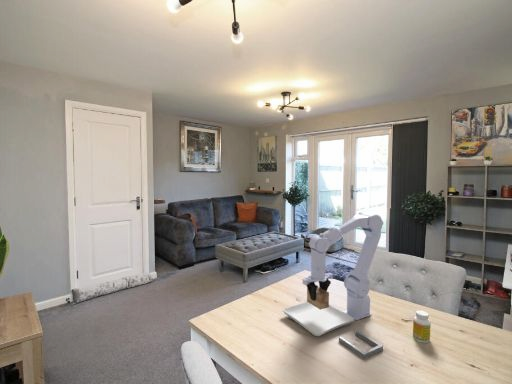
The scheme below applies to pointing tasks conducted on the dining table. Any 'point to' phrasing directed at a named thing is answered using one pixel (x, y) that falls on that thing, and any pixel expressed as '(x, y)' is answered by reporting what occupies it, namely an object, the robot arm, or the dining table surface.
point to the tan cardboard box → (319, 299)
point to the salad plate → (317, 318)
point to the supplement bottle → (421, 326)
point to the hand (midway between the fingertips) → (317, 298)
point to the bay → (362, 354)
